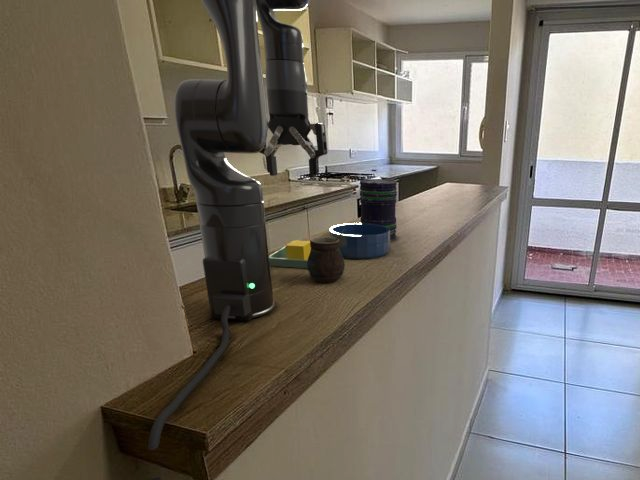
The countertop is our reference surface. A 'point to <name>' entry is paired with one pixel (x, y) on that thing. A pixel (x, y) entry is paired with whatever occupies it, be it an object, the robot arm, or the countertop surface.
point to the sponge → (298, 250)
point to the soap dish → (285, 260)
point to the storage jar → (379, 203)
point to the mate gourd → (325, 259)
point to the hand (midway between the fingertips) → (293, 176)
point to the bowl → (362, 240)
